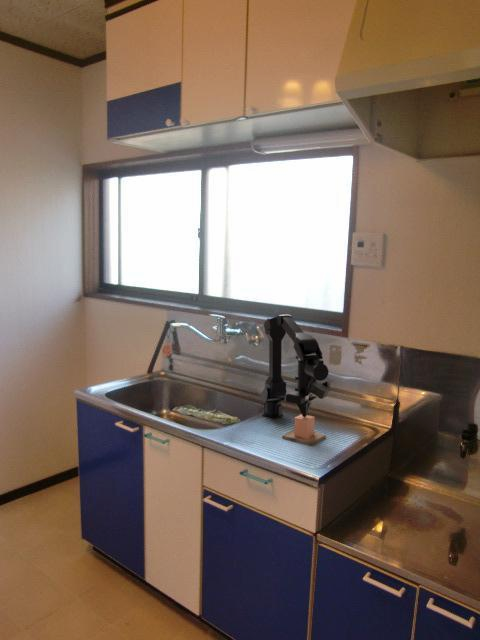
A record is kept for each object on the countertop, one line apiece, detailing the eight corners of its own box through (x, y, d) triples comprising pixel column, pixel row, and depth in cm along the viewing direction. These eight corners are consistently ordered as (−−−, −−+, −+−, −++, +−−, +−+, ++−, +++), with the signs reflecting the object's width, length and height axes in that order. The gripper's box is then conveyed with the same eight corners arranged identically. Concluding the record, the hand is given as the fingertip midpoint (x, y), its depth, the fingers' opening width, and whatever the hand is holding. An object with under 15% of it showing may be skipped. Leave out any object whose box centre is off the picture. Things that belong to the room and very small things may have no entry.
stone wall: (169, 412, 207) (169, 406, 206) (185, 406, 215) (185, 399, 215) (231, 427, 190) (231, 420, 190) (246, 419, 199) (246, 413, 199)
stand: (282, 438, 179) (282, 419, 178) (296, 430, 187) (296, 411, 186) (312, 446, 172) (313, 426, 171) (325, 437, 180) (326, 418, 179)
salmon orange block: (294, 435, 178) (294, 417, 178) (301, 431, 183) (301, 413, 182) (307, 438, 175) (307, 420, 174) (314, 434, 180) (314, 416, 179)
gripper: (314, 383, 164) (312, 429, 166) (338, 372, 179) (336, 414, 181) (284, 377, 170) (283, 422, 172) (310, 367, 185) (309, 408, 187)
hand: (304, 416), depth 178 cm, fingers closed
